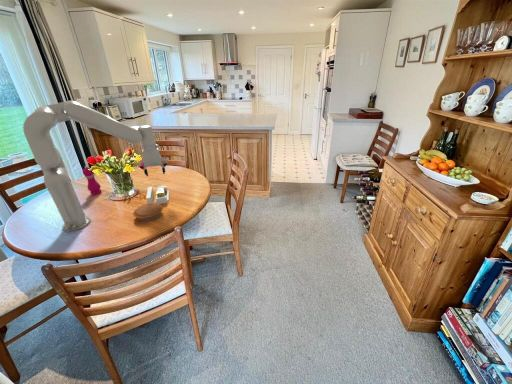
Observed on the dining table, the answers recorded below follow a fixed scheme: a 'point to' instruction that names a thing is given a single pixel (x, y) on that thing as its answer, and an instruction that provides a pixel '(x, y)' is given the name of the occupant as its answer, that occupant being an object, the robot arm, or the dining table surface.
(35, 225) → the dining table surface
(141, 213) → the pie
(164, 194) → the stop bar
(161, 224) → the dining table surface
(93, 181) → the pepper mill
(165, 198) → the jamb
